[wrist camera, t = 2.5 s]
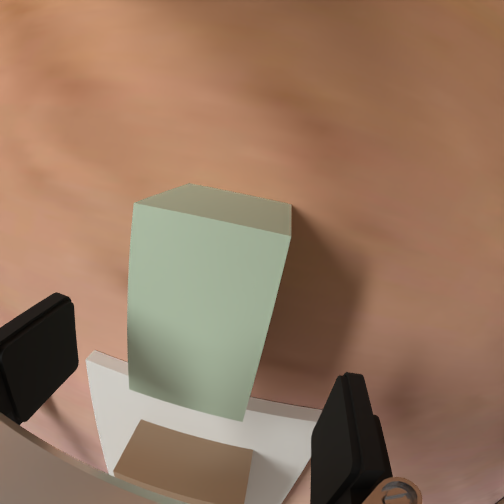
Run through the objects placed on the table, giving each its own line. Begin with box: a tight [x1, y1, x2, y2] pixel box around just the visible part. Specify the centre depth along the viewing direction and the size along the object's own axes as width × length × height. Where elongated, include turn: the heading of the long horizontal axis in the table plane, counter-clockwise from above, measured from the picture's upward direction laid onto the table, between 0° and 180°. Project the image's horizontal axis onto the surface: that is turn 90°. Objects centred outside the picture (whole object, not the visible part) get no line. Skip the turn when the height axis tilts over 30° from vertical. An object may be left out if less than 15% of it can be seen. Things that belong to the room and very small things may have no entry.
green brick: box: [127, 183, 291, 422], centre depth 14 cm, size 8×5×6 cm, turn 169°
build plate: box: [86, 350, 322, 504], centre depth 19 cm, size 18×16×6 cm
